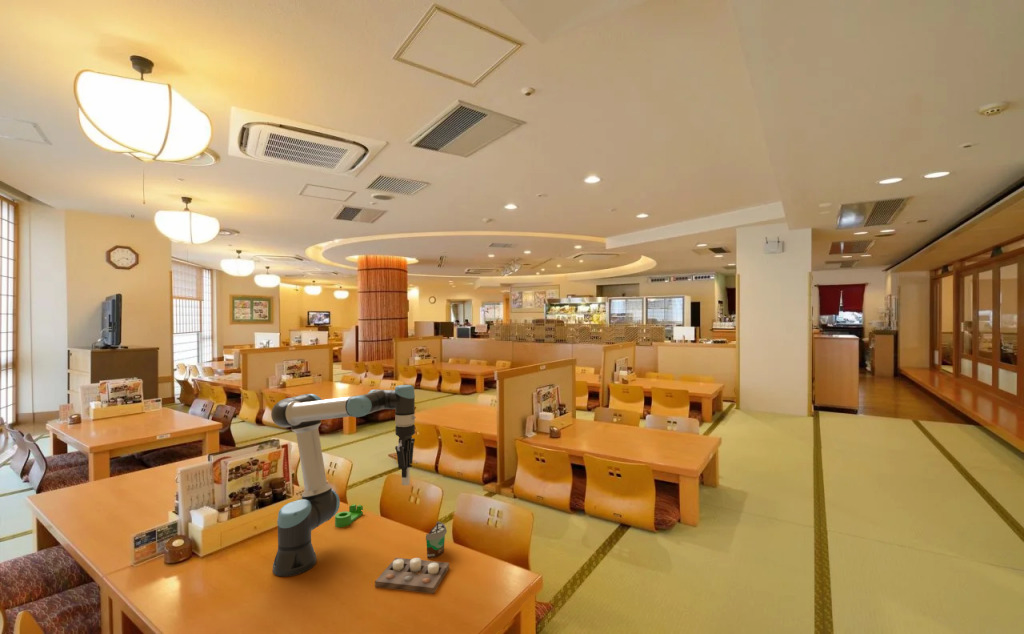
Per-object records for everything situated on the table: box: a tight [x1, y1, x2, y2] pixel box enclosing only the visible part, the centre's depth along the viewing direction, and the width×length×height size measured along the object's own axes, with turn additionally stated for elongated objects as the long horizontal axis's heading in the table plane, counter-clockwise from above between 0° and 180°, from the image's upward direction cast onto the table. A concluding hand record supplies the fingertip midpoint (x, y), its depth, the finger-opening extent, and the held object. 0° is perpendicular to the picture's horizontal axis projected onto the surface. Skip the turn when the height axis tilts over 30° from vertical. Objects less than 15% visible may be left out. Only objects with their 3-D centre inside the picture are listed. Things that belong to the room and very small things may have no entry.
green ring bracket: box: [334, 503, 364, 528], centre depth 209 cm, size 15×7×5 cm, turn 167°
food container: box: [425, 521, 448, 559], centre depth 178 cm, size 12×6×10 cm, turn 168°
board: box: [374, 557, 450, 595], centre depth 161 cm, size 22×16×2 cm
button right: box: [428, 563, 439, 575], centre depth 161 cm, size 4×4×3 cm
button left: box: [392, 559, 404, 571], centre depth 164 cm, size 4×4×3 cm
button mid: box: [410, 557, 422, 573], centre depth 163 cm, size 4×4×3 cm
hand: (405, 484), depth 171 cm, fingers closed
